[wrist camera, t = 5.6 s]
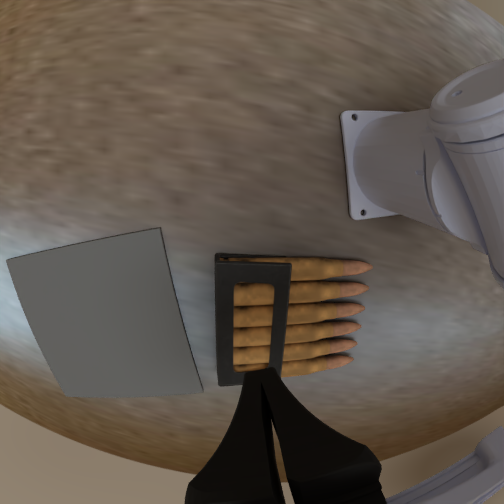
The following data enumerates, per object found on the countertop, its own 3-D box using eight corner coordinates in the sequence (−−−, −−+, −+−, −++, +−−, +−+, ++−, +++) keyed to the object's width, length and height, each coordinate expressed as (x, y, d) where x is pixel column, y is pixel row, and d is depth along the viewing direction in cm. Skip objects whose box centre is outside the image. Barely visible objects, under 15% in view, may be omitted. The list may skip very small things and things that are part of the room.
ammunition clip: (217, 373, 24) (347, 361, 26) (218, 387, 22) (355, 373, 24) (214, 253, 21) (368, 251, 23) (215, 261, 19) (380, 259, 21)
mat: (160, 227, 20) (159, 228, 20) (203, 390, 25) (203, 392, 25) (7, 259, 19) (6, 260, 19) (67, 394, 24) (66, 396, 24)
